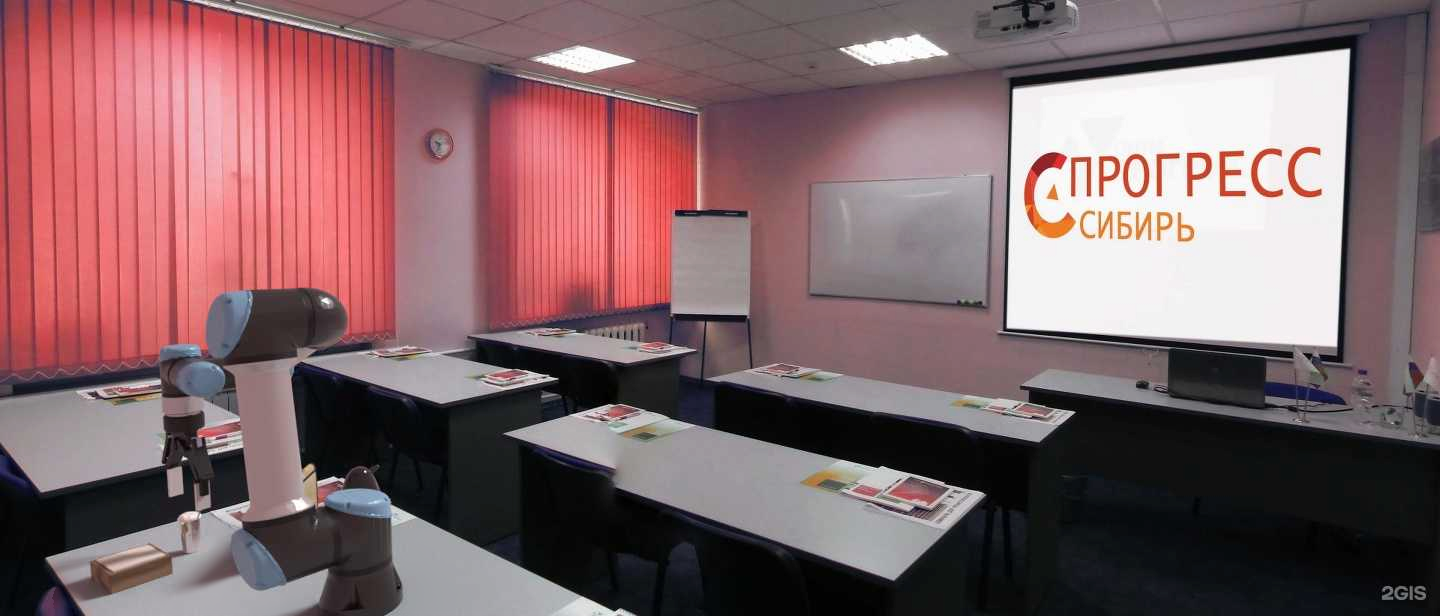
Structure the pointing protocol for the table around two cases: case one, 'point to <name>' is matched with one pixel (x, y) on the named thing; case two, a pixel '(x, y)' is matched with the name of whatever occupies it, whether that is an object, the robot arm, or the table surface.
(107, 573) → the dock
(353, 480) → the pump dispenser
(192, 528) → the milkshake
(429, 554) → the table surface
